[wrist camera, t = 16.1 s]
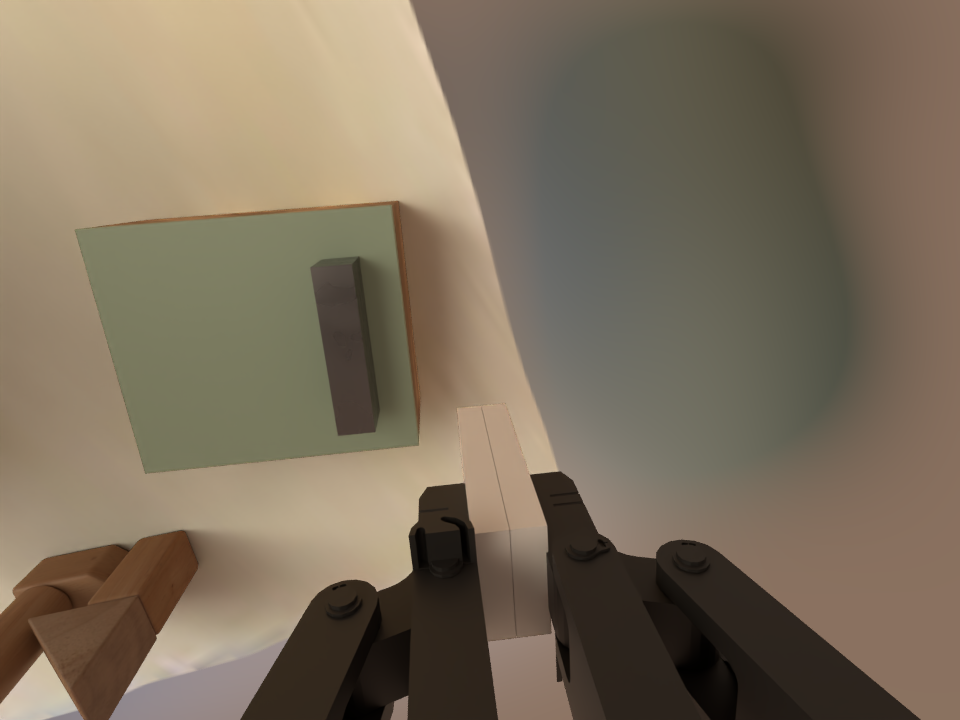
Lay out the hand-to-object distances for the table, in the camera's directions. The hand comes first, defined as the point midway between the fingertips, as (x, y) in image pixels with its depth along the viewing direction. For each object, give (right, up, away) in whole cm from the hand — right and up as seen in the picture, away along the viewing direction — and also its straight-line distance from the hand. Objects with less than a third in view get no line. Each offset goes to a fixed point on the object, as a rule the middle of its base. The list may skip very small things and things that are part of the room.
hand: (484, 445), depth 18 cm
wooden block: (-27, -13, +25) cm, 39 cm away
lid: (-12, +4, +15) cm, 19 cm away
